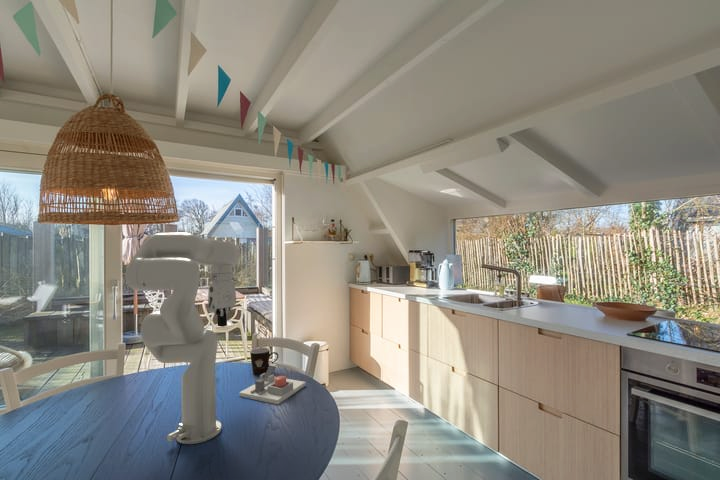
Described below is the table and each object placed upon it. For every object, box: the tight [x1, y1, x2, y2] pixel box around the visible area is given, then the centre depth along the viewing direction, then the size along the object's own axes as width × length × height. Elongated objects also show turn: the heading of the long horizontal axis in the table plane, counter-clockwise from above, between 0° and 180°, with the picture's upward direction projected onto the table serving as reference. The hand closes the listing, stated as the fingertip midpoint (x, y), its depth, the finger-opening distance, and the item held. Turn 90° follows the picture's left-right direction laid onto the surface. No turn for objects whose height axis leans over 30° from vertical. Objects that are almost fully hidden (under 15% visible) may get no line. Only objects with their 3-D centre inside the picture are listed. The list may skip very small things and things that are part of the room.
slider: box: [254, 378, 265, 392], centre depth 134 cm, size 2×2×4 cm
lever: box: [264, 362, 278, 380], centre depth 146 cm, size 1×3×7 cm
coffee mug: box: [249, 347, 279, 376], centre depth 158 cm, size 12×9×10 cm
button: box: [274, 375, 287, 388], centre depth 134 cm, size 4×4×4 cm
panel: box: [238, 373, 306, 405], centre depth 138 cm, size 18×18×4 cm
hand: (222, 325), depth 133 cm, fingers closed
